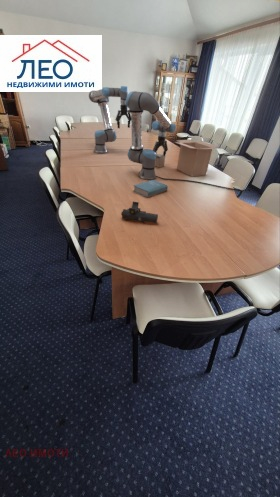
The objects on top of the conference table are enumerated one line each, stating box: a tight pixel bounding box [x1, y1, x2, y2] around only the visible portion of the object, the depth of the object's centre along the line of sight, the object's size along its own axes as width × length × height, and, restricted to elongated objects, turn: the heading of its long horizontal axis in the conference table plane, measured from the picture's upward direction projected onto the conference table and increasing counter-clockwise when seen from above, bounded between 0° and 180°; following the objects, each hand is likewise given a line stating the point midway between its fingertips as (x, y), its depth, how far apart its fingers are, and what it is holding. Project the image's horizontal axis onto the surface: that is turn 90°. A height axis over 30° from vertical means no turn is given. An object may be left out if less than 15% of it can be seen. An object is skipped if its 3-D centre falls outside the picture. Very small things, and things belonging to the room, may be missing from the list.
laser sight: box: [120, 201, 159, 224], centre depth 136 cm, size 10×22×10 cm, turn 78°
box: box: [174, 139, 219, 177], centre depth 219 cm, size 44×36×27 cm
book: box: [133, 179, 169, 198], centre depth 177 cm, size 23×16×5 cm
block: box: [155, 153, 166, 168], centre depth 235 cm, size 8×8×11 cm
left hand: (123, 128), depth 240 cm, fingers open, 13 cm apart
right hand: (159, 158), depth 233 cm, fingers open, 13 cm apart
